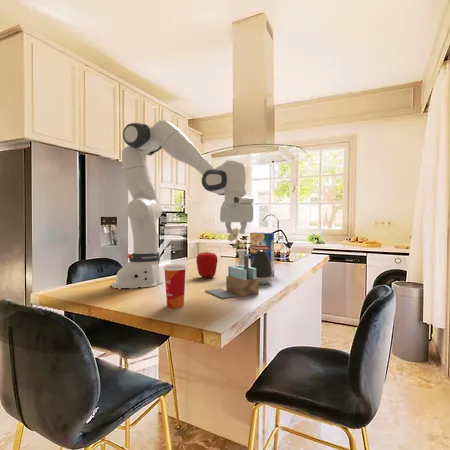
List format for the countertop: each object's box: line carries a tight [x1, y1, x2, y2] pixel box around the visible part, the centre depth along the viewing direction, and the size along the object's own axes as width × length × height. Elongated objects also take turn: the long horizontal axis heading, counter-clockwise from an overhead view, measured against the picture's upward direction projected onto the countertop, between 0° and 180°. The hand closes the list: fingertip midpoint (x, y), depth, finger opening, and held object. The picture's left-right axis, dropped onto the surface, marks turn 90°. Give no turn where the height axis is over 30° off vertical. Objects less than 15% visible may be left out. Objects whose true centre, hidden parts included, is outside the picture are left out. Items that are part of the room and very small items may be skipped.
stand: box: [225, 254, 260, 297], centre depth 125 cm, size 8×11×15 cm
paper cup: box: [163, 263, 187, 309], centre depth 107 cm, size 8×8×14 cm
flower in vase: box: [227, 227, 247, 266], centre depth 157 cm, size 13×11×25 cm
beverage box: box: [249, 232, 275, 277], centre depth 163 cm, size 7×11×22 cm, turn 67°
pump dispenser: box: [249, 250, 273, 285], centre depth 143 cm, size 10×10×15 cm
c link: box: [227, 264, 256, 280], centre depth 125 cm, size 11×6×4 cm, turn 31°
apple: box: [195, 251, 218, 279], centre depth 158 cm, size 10×10×14 cm
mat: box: [204, 288, 240, 300], centre depth 123 cm, size 7×14×1 cm, turn 31°
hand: (235, 233), depth 129 cm, fingers open, 8 cm apart
